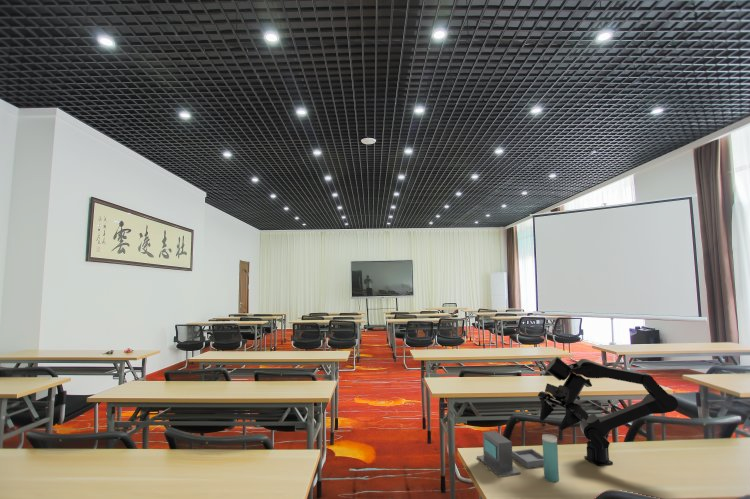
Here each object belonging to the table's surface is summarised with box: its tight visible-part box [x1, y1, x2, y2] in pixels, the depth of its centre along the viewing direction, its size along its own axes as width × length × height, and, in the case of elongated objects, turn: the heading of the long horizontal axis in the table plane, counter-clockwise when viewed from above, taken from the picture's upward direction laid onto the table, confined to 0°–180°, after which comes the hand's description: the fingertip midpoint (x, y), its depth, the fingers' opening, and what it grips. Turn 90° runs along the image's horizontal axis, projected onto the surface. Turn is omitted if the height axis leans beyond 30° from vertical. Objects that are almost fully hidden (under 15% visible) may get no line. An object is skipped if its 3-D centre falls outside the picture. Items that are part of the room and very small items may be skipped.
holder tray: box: [512, 448, 544, 469], centre depth 131 cm, size 9×9×2 cm
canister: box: [541, 433, 560, 483], centre depth 120 cm, size 4×4×13 cm
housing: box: [476, 430, 521, 478], centre depth 129 cm, size 8×14×10 cm, turn 15°
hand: (550, 425), depth 131 cm, fingers open, 9 cm apart
